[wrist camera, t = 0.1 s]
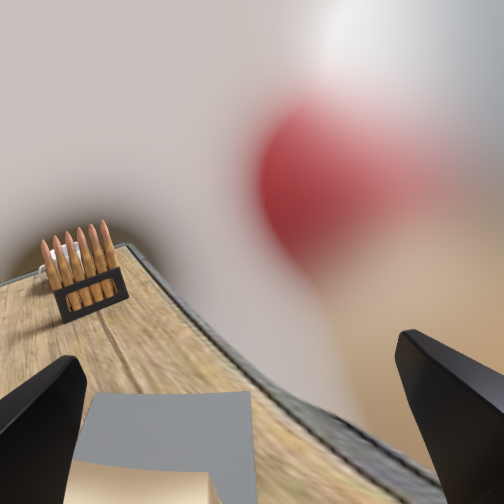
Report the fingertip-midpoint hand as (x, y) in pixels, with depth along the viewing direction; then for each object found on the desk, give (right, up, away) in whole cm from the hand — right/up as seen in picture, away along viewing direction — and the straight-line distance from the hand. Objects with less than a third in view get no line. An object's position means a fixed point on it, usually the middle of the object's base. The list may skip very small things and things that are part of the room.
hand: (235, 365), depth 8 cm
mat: (-7, -13, +13) cm, 20 cm away
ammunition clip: (-22, -5, +34) cm, 41 cm away
